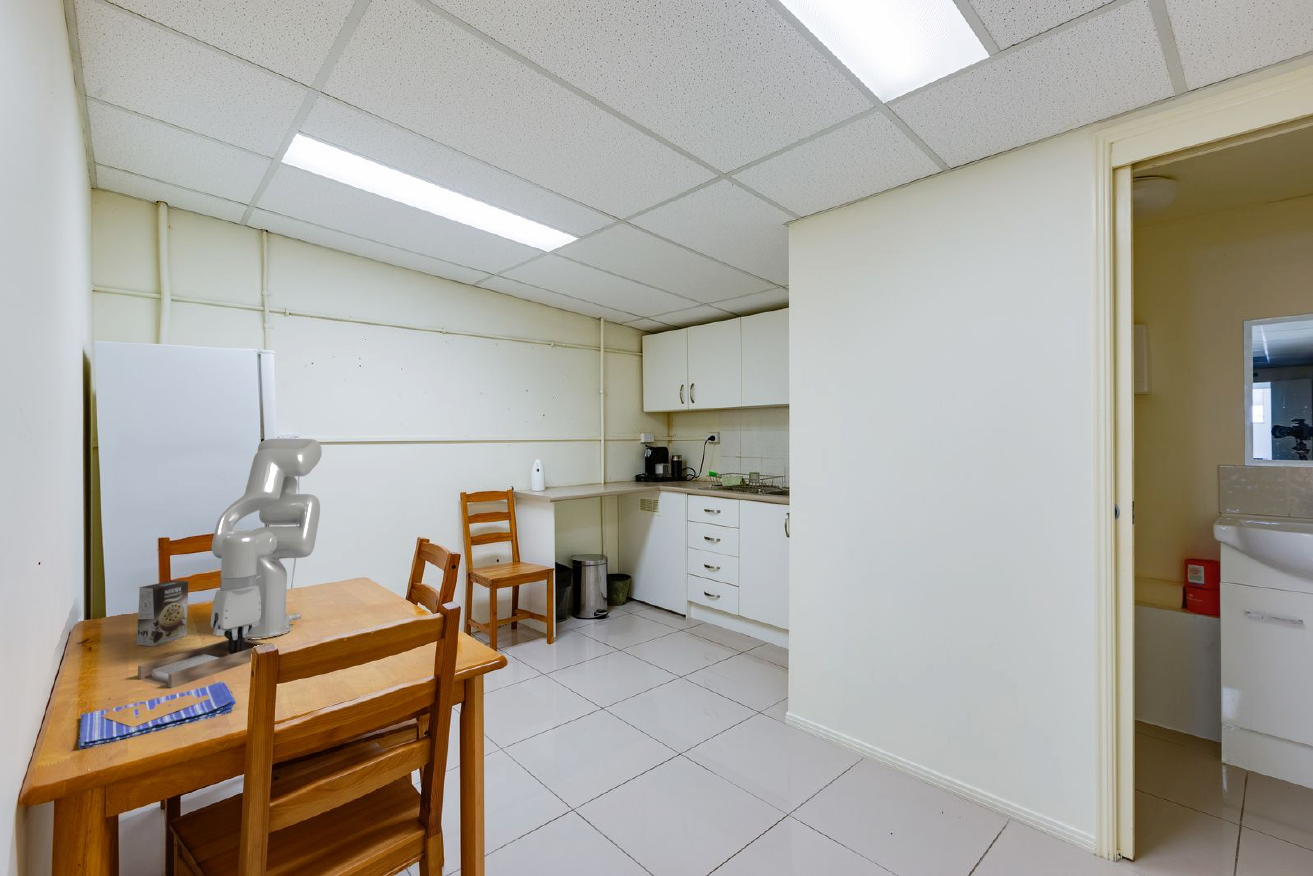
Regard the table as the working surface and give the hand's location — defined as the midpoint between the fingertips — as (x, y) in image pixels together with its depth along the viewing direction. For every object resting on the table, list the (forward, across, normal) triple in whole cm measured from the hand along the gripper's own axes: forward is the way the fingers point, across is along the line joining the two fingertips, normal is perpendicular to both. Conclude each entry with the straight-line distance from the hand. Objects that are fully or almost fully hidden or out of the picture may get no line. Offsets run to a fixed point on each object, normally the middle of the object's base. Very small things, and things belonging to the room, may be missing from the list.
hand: (236, 653), depth 147 cm
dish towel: (+3, +25, +17) cm, 30 cm away
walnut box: (+2, +7, 0) cm, 7 cm away
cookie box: (+2, -1, -34) cm, 34 cm away
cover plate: (+1, +11, 0) cm, 11 cm away
